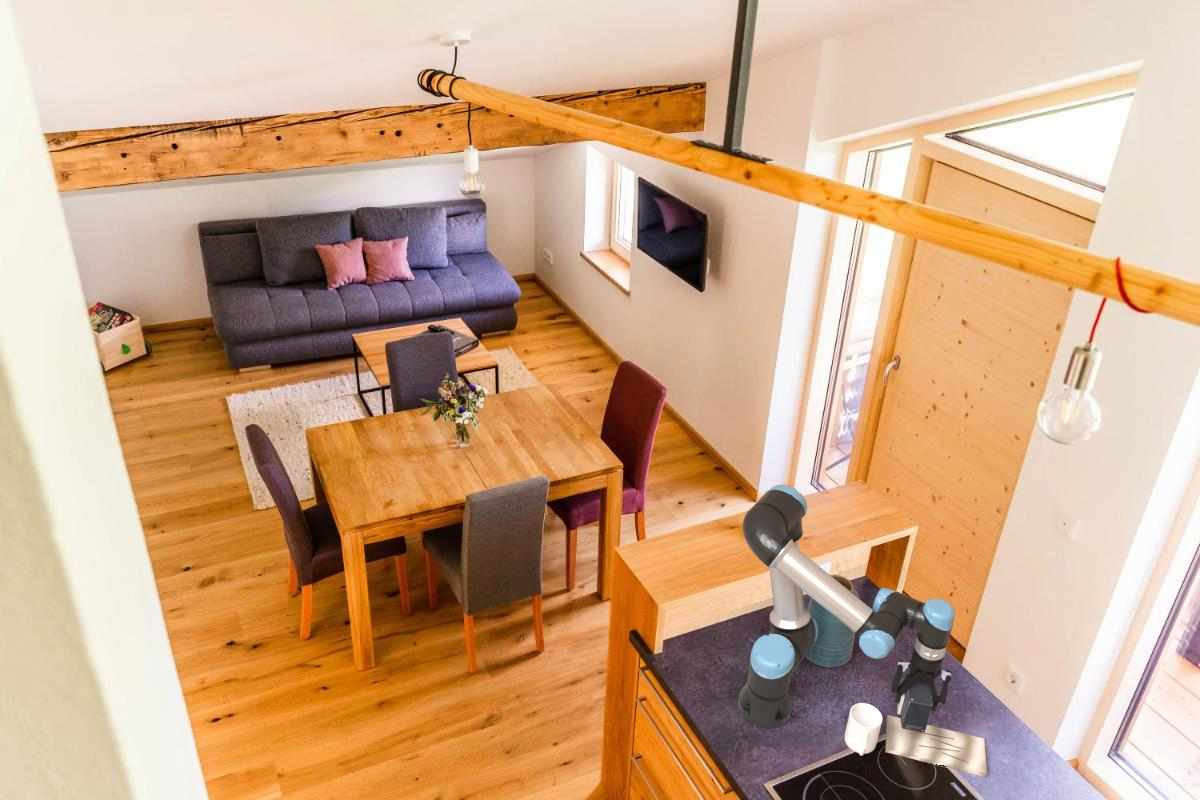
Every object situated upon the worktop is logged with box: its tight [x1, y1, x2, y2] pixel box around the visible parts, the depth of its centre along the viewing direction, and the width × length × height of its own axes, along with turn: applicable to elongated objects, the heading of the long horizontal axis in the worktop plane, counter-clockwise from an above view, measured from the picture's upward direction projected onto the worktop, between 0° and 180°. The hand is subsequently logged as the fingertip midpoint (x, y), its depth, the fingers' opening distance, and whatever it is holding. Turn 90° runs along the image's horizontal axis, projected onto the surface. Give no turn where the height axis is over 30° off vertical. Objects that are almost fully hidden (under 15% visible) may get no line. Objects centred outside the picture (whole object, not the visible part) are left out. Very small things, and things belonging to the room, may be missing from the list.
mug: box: [844, 702, 883, 757], centre depth 242 cm, size 9×12×11 cm
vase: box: [804, 574, 860, 668], centre depth 270 cm, size 16×16×27 cm
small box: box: [899, 672, 933, 732], centre depth 240 cm, size 11×6×10 cm, turn 168°
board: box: [884, 714, 988, 778], centre depth 245 cm, size 26×12×2 cm, turn 73°
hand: (912, 713), depth 242 cm, fingers closed on small box, 7 cm apart
